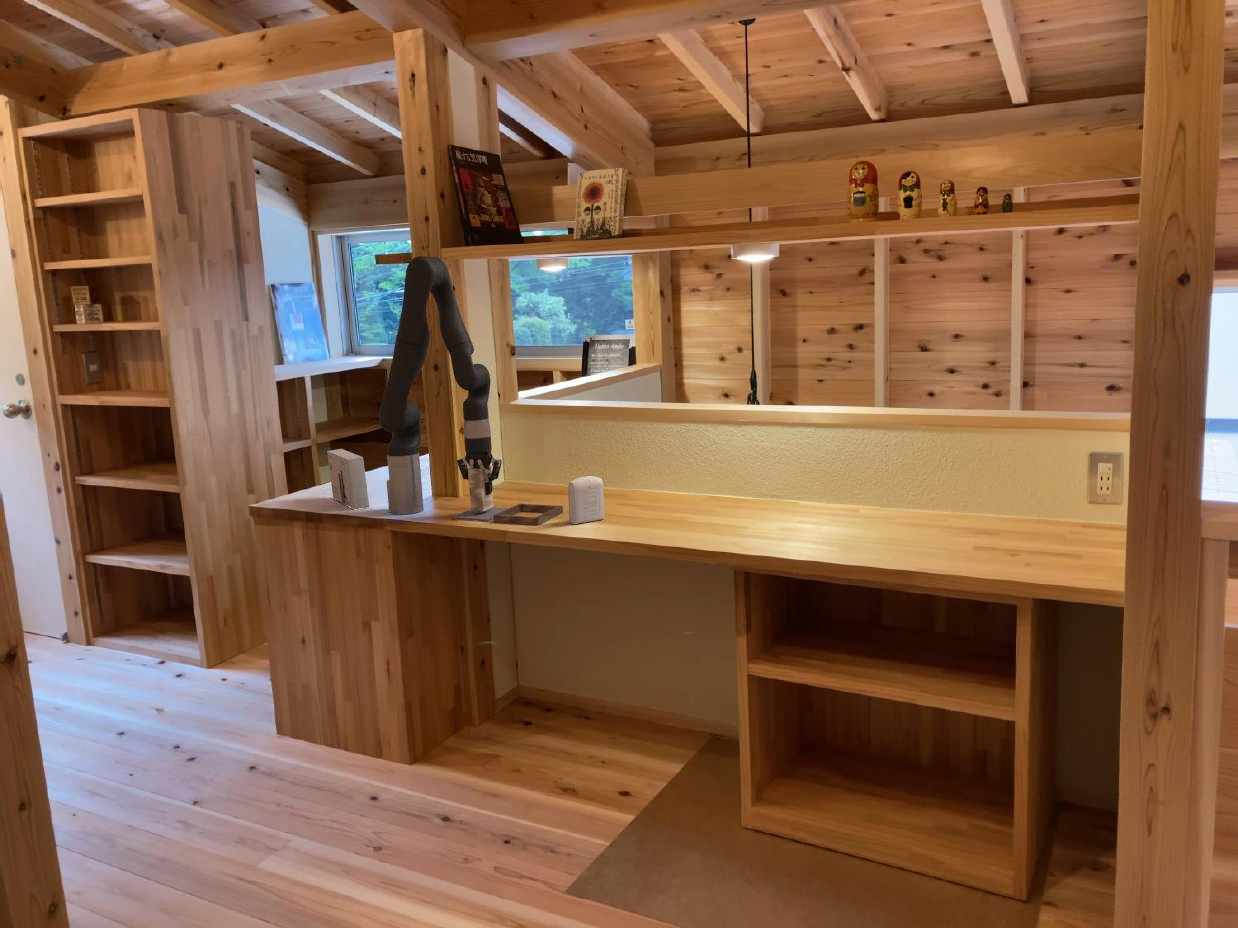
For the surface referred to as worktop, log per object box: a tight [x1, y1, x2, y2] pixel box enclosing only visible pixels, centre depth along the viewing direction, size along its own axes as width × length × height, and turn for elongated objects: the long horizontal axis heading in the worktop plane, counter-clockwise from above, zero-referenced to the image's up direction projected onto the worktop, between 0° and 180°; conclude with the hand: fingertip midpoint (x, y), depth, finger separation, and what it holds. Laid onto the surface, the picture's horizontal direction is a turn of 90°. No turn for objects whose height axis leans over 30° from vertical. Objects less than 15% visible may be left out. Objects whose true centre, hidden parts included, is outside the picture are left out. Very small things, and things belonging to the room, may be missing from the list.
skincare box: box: [326, 448, 370, 510], centre depth 297 cm, size 21×5×16 cm, turn 33°
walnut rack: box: [493, 503, 564, 526], centre depth 270 cm, size 14×15×2 cm
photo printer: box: [567, 475, 605, 525], centre depth 262 cm, size 10×4×12 cm, turn 123°
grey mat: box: [451, 506, 510, 522], centre depth 276 cm, size 12×14×1 cm
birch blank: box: [468, 465, 495, 511], centre depth 274 cm, size 4×6×12 cm, turn 157°
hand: (481, 494), depth 275 cm, fingers closed on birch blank, 4 cm apart
